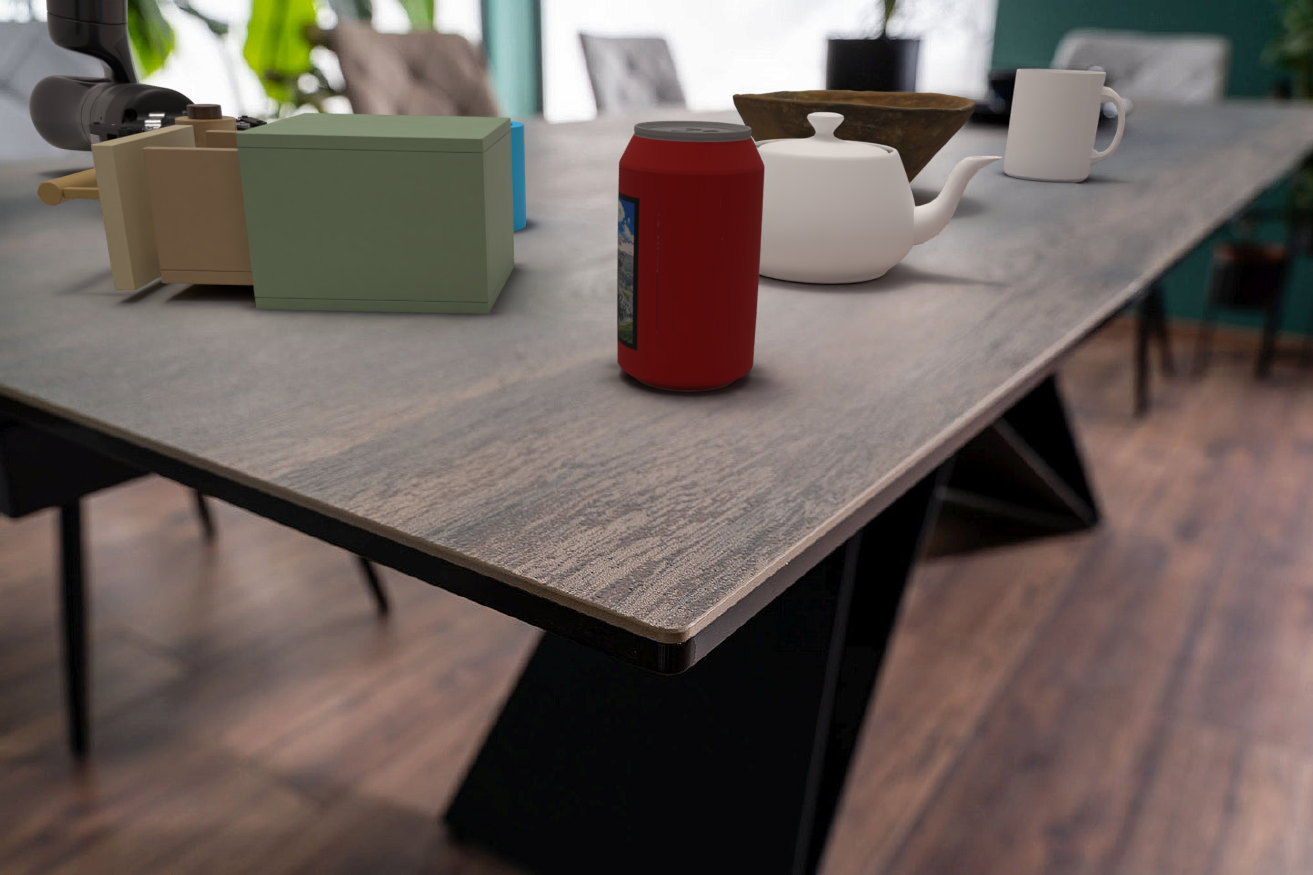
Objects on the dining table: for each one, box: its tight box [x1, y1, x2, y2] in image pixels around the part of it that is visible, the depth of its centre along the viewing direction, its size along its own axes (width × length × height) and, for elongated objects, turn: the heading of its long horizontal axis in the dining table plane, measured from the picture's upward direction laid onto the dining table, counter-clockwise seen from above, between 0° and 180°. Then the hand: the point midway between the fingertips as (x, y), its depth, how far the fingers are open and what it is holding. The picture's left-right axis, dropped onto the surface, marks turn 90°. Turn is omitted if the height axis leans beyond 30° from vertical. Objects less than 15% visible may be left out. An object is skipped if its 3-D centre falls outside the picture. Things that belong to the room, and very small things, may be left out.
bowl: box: [732, 89, 977, 184], centre depth 104 cm, size 22×23×10 cm
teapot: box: [754, 112, 1003, 285], centre depth 74 cm, size 22×14×11 cm, turn 76°
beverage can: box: [616, 120, 765, 393], centre depth 51 cm, size 7×7×12 cm
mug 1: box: [510, 120, 527, 232], centre depth 89 cm, size 12×8×8 cm
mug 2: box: [1003, 68, 1126, 183], centre depth 122 cm, size 10×12×12 cm
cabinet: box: [236, 112, 515, 315], centre depth 67 cm, size 14×13×10 cm
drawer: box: [37, 125, 253, 291], centre depth 67 cm, size 17×11×8 cm, turn 90°
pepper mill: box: [175, 103, 237, 148], centre depth 89 cm, size 5×5×9 cm
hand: (220, 146), depth 86 cm, fingers open, 6 cm apart
